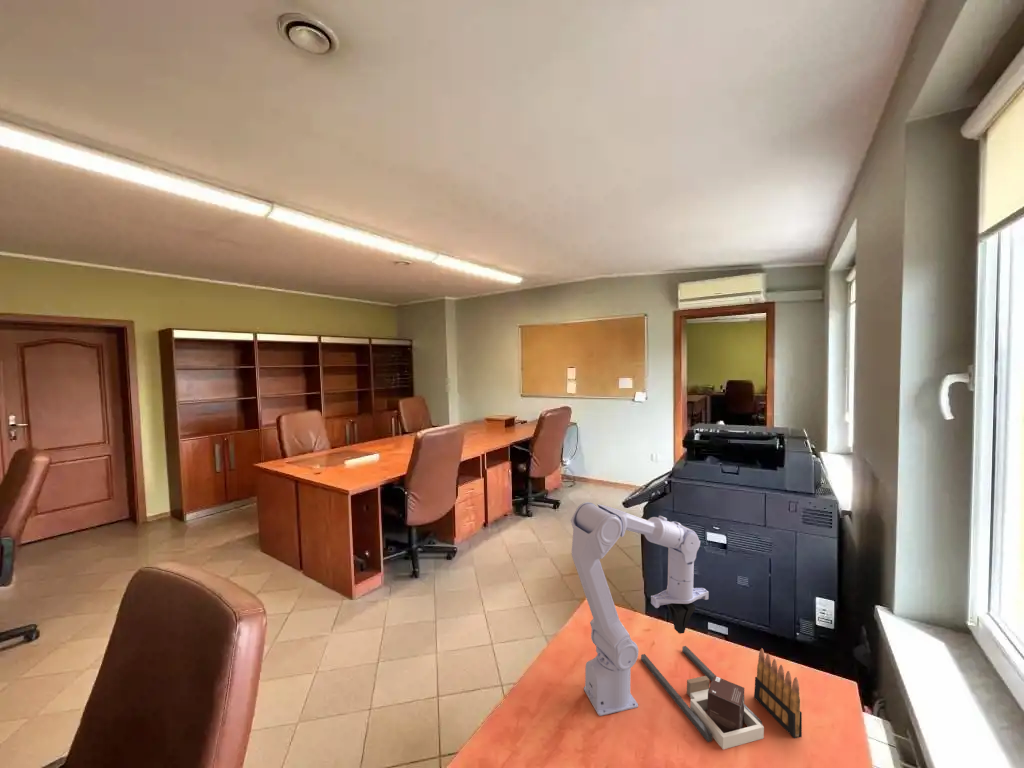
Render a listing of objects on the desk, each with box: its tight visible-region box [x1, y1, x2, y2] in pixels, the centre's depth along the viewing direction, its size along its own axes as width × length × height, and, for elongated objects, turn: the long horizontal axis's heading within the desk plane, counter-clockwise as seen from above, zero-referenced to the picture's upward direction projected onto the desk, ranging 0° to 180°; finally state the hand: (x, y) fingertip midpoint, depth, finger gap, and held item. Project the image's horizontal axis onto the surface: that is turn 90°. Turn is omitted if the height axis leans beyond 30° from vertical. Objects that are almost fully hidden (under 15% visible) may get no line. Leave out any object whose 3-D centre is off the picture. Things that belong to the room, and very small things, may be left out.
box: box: [706, 675, 745, 733], centre depth 88 cm, size 6×6×7 cm
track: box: [640, 645, 763, 743], centre depth 97 cm, size 13×24×2 cm, turn 15°
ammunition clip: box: [753, 647, 803, 739], centre depth 89 cm, size 11×2×12 cm, turn 11°
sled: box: [686, 675, 765, 750], centre depth 90 cm, size 10×14×3 cm
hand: (679, 630), depth 102 cm, fingers closed
